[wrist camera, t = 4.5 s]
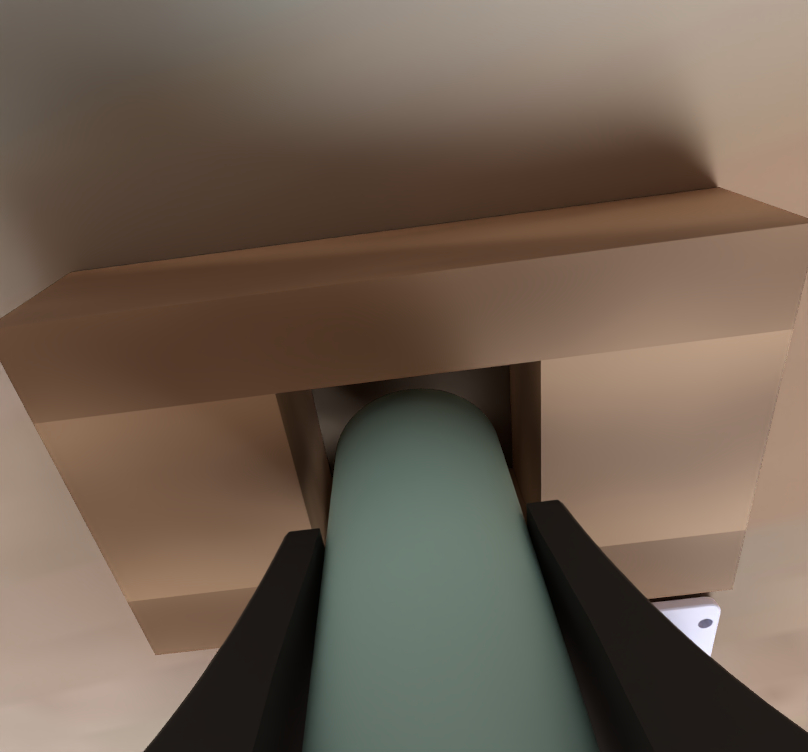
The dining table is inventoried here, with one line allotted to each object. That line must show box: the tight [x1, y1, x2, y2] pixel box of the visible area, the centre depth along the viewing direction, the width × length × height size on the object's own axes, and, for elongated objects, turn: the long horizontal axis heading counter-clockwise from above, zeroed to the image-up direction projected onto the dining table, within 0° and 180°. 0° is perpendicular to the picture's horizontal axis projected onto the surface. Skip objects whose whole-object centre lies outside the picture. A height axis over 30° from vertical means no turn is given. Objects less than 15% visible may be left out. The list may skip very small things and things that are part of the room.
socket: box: [0, 187, 808, 655], centre depth 15 cm, size 10×16×4 cm, turn 97°
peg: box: [302, 389, 600, 752], centre depth 10 cm, size 4×4×8 cm
